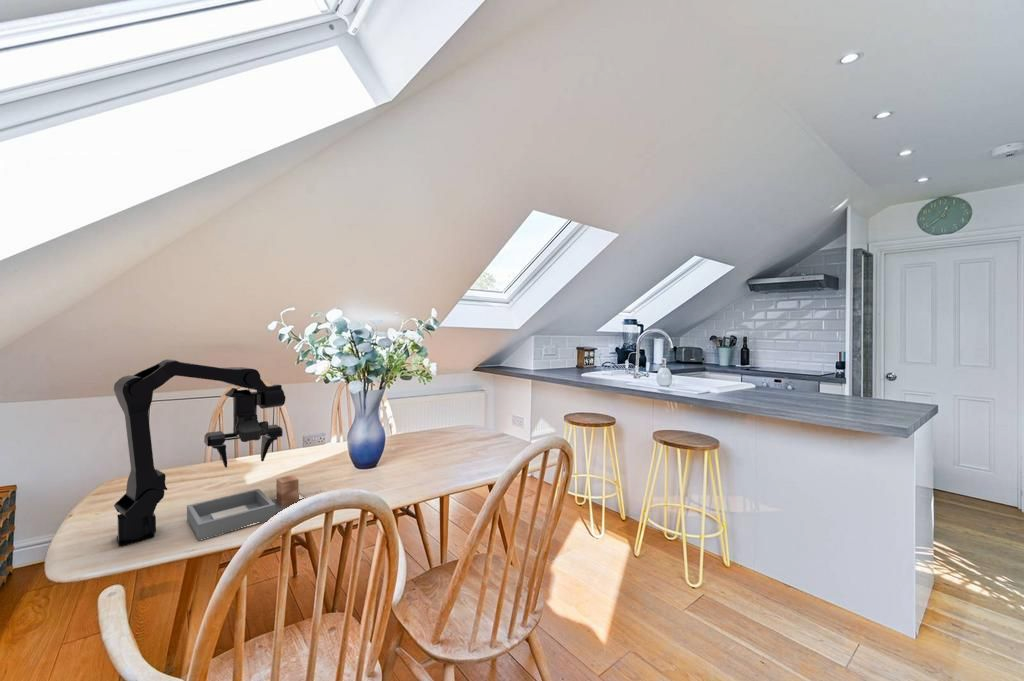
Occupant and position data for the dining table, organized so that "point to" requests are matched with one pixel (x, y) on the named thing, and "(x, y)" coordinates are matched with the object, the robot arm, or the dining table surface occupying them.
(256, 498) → the crate
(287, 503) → the block
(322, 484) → the dining table surface
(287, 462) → the dining table surface
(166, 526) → the dining table surface
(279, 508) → the mat
